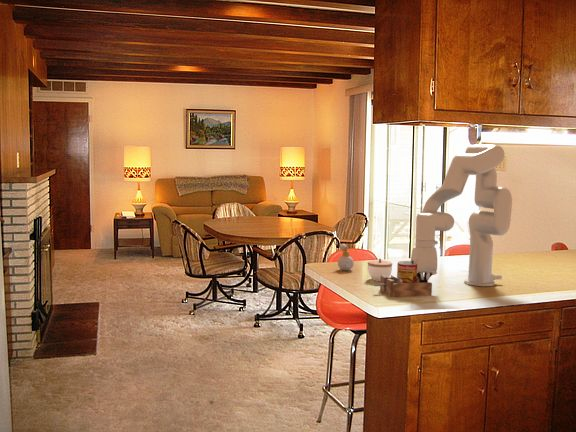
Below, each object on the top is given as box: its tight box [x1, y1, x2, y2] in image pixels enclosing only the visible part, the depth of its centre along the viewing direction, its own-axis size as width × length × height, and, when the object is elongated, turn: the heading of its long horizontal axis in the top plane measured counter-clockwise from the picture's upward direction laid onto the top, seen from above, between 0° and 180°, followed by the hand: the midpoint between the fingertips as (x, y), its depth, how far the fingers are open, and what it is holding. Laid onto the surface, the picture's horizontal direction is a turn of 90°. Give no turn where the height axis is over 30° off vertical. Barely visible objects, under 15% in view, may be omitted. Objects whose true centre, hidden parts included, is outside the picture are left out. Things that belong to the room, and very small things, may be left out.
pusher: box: [373, 274, 403, 287], centre depth 245 cm, size 10×9×6 cm
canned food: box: [396, 260, 418, 283], centre depth 247 cm, size 8×8×12 cm
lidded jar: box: [367, 258, 393, 282], centre depth 271 cm, size 11×11×9 cm
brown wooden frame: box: [379, 275, 433, 298], centre depth 247 cm, size 17×14×6 cm
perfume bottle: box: [337, 243, 354, 271], centre depth 292 cm, size 8×10×12 cm
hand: (423, 288), depth 249 cm, fingers closed
